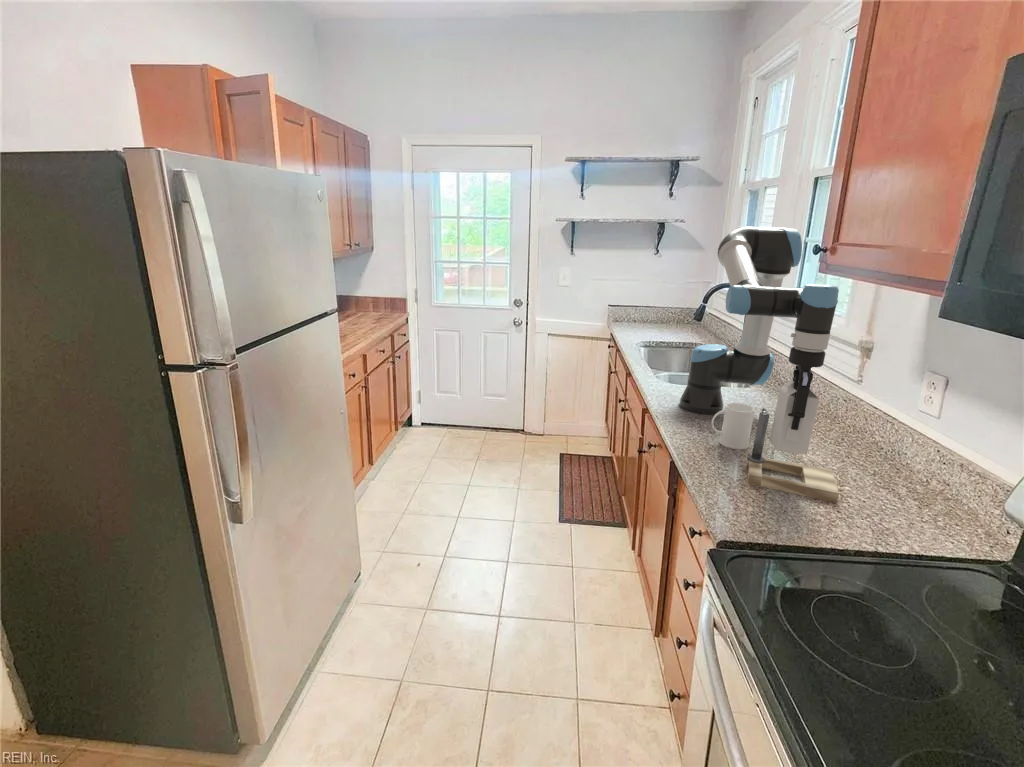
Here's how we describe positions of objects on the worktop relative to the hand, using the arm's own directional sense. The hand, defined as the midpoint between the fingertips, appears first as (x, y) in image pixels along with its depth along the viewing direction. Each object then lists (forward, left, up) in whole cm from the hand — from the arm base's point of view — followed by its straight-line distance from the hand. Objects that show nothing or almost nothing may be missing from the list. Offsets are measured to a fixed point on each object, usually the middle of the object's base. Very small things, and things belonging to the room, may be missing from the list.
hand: (790, 434), depth 131 cm
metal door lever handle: (-6, -7, -13) cm, 15 cm away
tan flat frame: (0, +2, -13) cm, 13 cm away
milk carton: (0, 0, -4) cm, 4 cm away
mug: (-19, -14, -13) cm, 27 cm away
